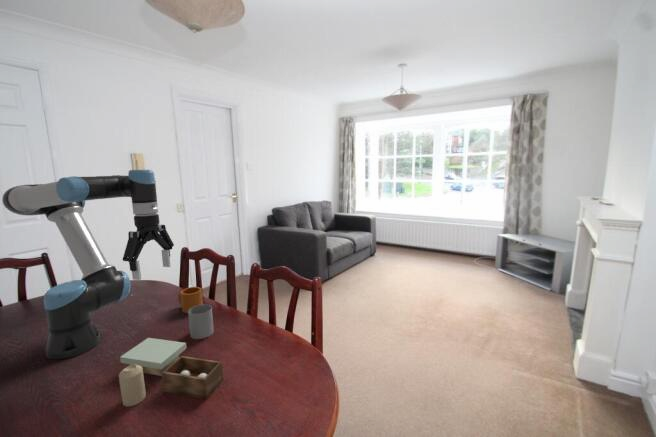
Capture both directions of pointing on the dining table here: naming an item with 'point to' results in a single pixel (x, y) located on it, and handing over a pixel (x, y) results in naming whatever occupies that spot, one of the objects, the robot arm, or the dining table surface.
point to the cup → (200, 321)
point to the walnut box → (193, 377)
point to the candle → (132, 385)
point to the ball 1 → (186, 373)
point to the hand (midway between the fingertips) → (152, 272)
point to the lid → (153, 353)
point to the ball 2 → (202, 375)
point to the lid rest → (158, 371)
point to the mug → (190, 298)
